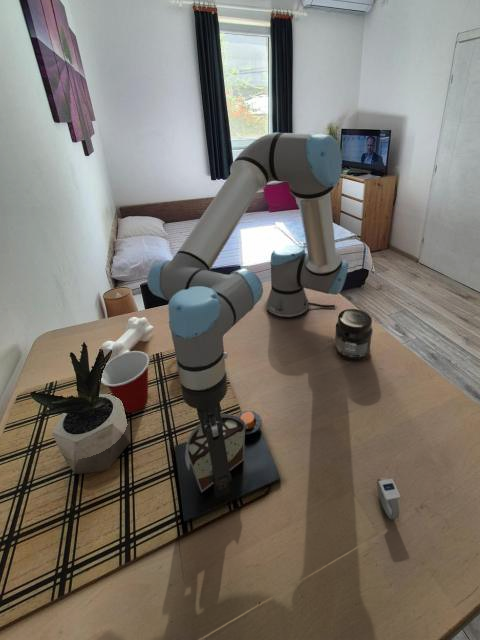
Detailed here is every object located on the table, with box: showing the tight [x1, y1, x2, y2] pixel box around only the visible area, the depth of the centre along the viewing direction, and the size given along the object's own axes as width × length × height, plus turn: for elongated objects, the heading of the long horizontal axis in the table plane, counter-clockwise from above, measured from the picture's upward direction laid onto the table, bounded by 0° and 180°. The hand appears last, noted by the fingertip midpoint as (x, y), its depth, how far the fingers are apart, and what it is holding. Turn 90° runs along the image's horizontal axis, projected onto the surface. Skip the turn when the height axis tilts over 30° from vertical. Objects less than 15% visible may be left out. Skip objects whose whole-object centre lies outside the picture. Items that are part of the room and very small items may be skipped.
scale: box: [174, 410, 282, 526], centre depth 66 cm, size 18×16×3 cm
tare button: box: [241, 411, 255, 429], centre depth 71 cm, size 3×3×2 cm
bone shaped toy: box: [100, 316, 154, 361], centre depth 95 cm, size 15×9×8 cm, turn 170°
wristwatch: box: [376, 476, 402, 520], centre depth 58 cm, size 6×3×5 cm, turn 9°
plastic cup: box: [100, 350, 150, 414], centre depth 77 cm, size 11×11×12 cm
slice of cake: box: [185, 413, 248, 493], centre depth 63 cm, size 12×6×10 cm, turn 131°
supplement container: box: [333, 308, 374, 362], centre depth 95 cm, size 10×10×12 cm
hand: (215, 459), depth 63 cm, fingers open, 13 cm apart
